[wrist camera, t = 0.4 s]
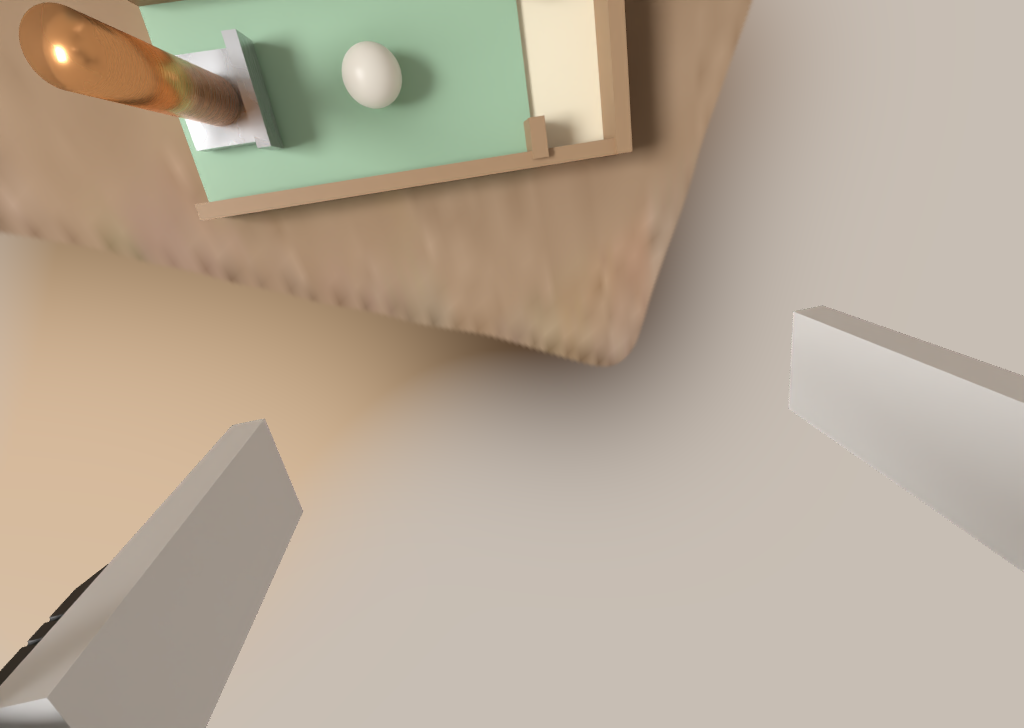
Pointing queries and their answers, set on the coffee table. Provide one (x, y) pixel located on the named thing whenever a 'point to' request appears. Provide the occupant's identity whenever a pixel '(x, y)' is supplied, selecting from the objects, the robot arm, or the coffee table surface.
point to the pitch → (409, 92)
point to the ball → (371, 74)
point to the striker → (155, 76)
